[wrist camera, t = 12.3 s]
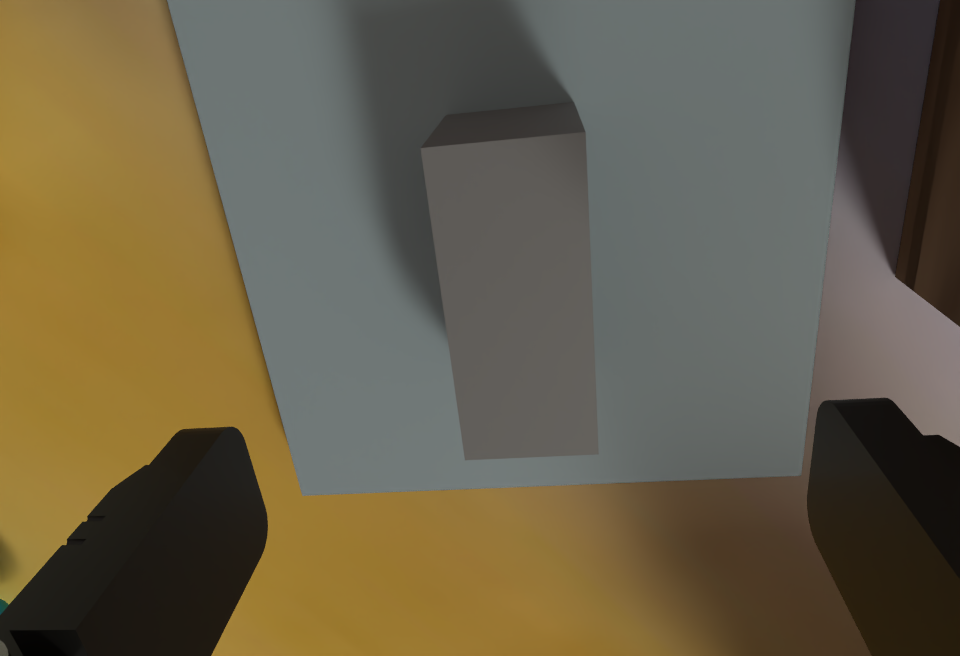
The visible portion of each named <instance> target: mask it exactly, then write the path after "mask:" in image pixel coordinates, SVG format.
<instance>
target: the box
mask: <svg viewBox="0 0 960 656" xmlns="http://www.w3.org/2000/svg"><path fill="white" fill-rule="evenodd" d="M895 277H896V278H897V279H899V280H900V281H901V282H902V283H904V284H905V285H906V286H908V287H909V288H910V289H912V290H913V291H914V292H915V293H917V294H918V295H919V296H921V297H922V298H923V299H924V300H926V301H927V302H928V303H930V304H931V305H932V306H934V307H935V308H936V309H937V310H939V311H940V312H941V313H943V314H944V315H945V316H947V317H948V318H949V319H950V320H952V321H953V322H954V323H956V324H957V325H958V326H960V0H940V5H939V11H938V17H937V23H936V29H935V36H934V42H933V48H932V54H931V60H930V66H929V72H928V78H927V85H926V91H925V97H924V103H923V109H922V115H921V121H920V127H919V134H918V140H917V146H916V152H915V158H914V164H913V170H912V176H911V183H910V189H909V195H908V201H907V207H906V213H905V219H904V225H903V232H902V238H901V244H900V250H899V256H898V262H897V268H896V274H895Z"/></svg>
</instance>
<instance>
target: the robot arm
mask: <svg viewBox="0 0 960 656" xmlns="http://www.w3.org/2000/svg"><path fill="white" fill-rule="evenodd" d="M807 509H808V517H809V523H810V527H811V531H812V535H813V538H814V540H815V543H816V545H817V547H818V549H819V551H820V553H821V555H822V557H823V559H824V561H825V563H826V565H827V567H828V569H829V571H830V573H831V575H832V577H833V579H834V581H835V583H836V585H837V587H838V589H839V591H840V593H841V595H842V597H843V599H844V601H845V603H846V605H847V607H848V609H849V611H850V613H851V615H852V617H853V619H854V621H855V623H856V625H857V627H858V629H859V631H860V633H861V635H862V637H863V639H864V641H865V643H866V645H867V647H868V649H869V651H870V653H871V655H872V656H960V447H959V446H957V445H955V444H954V443H952V442H950V441H948V440H947V439H945V438H943V437H942V436H940V435H924V436H923V435H922V434H921V433H920V431H919V430H918V429H917V428H916V427H915V426H914V425H913V423H912V422H911V421H910V420H909V419H908V418H907V417H906V415H905V414H904V413H903V412H902V411H901V410H900V409H899V407H898V406H897V405H896V404H895V403H894V402H893V401H892V400H890V399H888V398H870V399H849V400H827V401H824V402H822V403H821V405H820V407H819V409H818V413H817V418H816V426H815V434H814V443H813V451H812V460H811V468H810V476H809V485H808V494H807ZM87 517H88V520H87V522H82V523H81V524H80V525H79V526H78V527H77V529H76V530H75V531H74V532H73V533H72V534H71V535H70V536H69V538H68V539H67V545H62V546H61V547H60V548H59V549H58V550H57V551H56V552H55V553H54V555H53V556H52V557H51V558H50V559H49V560H48V561H47V563H46V564H45V565H44V566H43V567H42V568H41V569H40V570H39V572H38V573H37V574H36V575H35V576H34V577H33V578H32V580H31V581H30V582H29V583H28V584H27V585H26V586H25V587H24V589H23V590H22V591H21V592H20V593H19V594H18V595H17V597H16V598H15V599H14V600H13V601H12V602H11V603H10V604H9V606H8V607H7V608H6V609H5V610H4V611H3V612H2V614H1V615H0V656H211V655H212V653H213V651H214V649H215V647H216V645H217V643H218V641H219V639H220V637H221V635H222V633H223V631H224V629H225V627H226V625H227V623H228V621H229V619H230V617H231V615H232V613H233V611H234V609H235V607H236V605H237V603H238V601H239V600H240V598H241V596H242V594H243V592H244V590H245V588H246V586H247V584H248V582H249V580H250V578H251V576H252V574H253V572H254V570H255V568H256V566H257V564H258V562H259V560H260V558H261V556H262V554H263V551H264V548H265V544H266V539H267V531H268V521H267V512H266V508H265V505H264V502H263V498H262V495H261V492H260V489H259V485H258V482H257V479H256V476H255V472H254V469H253V466H252V462H251V459H250V456H249V453H248V449H247V446H246V443H245V440H244V437H243V435H242V434H241V432H240V431H239V430H238V429H237V428H235V427H217V428H196V429H183V430H180V431H179V432H177V433H176V434H175V435H174V436H173V437H172V439H171V440H170V441H169V442H168V443H167V444H166V446H165V447H164V448H163V449H162V450H161V452H160V453H159V454H158V455H157V456H156V457H155V459H154V460H153V461H152V462H151V463H150V465H145V466H144V467H142V468H141V469H139V470H138V471H136V472H135V473H134V474H132V475H131V476H129V477H128V478H126V479H125V480H124V481H122V482H121V483H119V484H118V485H116V486H115V487H114V488H112V489H111V490H110V491H109V492H108V493H107V495H106V496H105V497H104V498H103V499H102V500H101V501H100V503H99V504H98V505H97V506H96V507H95V508H94V509H93V510H92V512H91V513H90V514H89V515H88V516H87Z"/></svg>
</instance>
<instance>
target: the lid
mask: <svg viewBox="0 0 960 656" xmlns="http://www.w3.org/2000/svg"><path fill="white" fill-rule="evenodd" d="M855 1H856V0H167V2H168V6H169V9H170V13H171V17H172V20H173V24H174V28H175V31H176V35H177V39H178V42H179V46H180V50H181V53H182V57H183V61H184V64H185V68H186V72H187V75H188V79H189V83H190V86H191V90H192V93H193V97H194V101H195V104H196V108H197V112H198V115H199V119H200V123H201V126H202V130H203V134H204V137H205V141H206V145H207V148H208V152H209V156H210V159H211V163H212V167H213V170H214V174H215V178H216V181H217V185H218V189H219V192H220V196H221V200H222V203H223V207H224V211H225V214H226V218H227V222H228V225H229V229H230V233H231V236H232V240H233V244H234V247H235V251H236V254H237V258H238V262H239V265H240V269H241V273H242V276H243V280H244V284H245V287H246V291H247V295H248V298H249V302H250V306H251V309H252V313H253V317H254V320H255V324H256V328H257V331H258V335H259V339H260V342H261V346H262V350H263V353H264V357H265V361H266V364H267V368H268V372H269V375H270V379H271V383H272V386H273V390H274V394H275V397H276V401H277V404H278V408H279V412H280V415H281V419H282V423H283V426H284V430H285V434H286V437H287V441H288V445H289V448H290V452H291V456H292V459H293V463H294V467H295V470H296V474H297V478H298V481H299V485H300V489H301V492H302V496H305V495H330V494H355V493H380V492H405V491H431V490H456V489H481V488H506V487H531V486H556V485H581V484H606V483H631V482H656V481H681V480H707V479H732V478H757V477H782V476H801V472H802V464H803V455H804V446H805V438H806V429H807V420H808V411H809V403H810V394H811V385H812V377H813V368H814V359H815V350H816V342H817V333H818V324H819V315H820V307H821V298H822V289H823V281H824V272H825V263H826V254H827V246H828V237H829V228H830V219H831V211H832V202H833V193H834V185H835V176H836V167H837V158H838V150H839V141H840V132H841V123H842V115H843V106H844V97H845V89H846V80H847V71H848V62H849V54H850V45H851V36H852V28H853V19H854V10H855Z"/></svg>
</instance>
